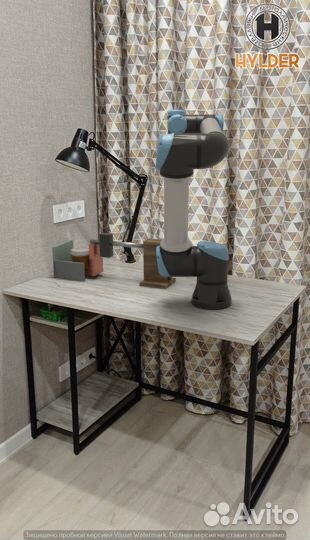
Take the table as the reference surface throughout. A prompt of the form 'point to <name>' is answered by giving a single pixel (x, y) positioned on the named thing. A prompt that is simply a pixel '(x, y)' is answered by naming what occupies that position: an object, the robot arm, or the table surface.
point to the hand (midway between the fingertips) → (176, 198)
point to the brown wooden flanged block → (153, 267)
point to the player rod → (103, 252)
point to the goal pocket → (66, 263)
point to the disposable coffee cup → (81, 255)
